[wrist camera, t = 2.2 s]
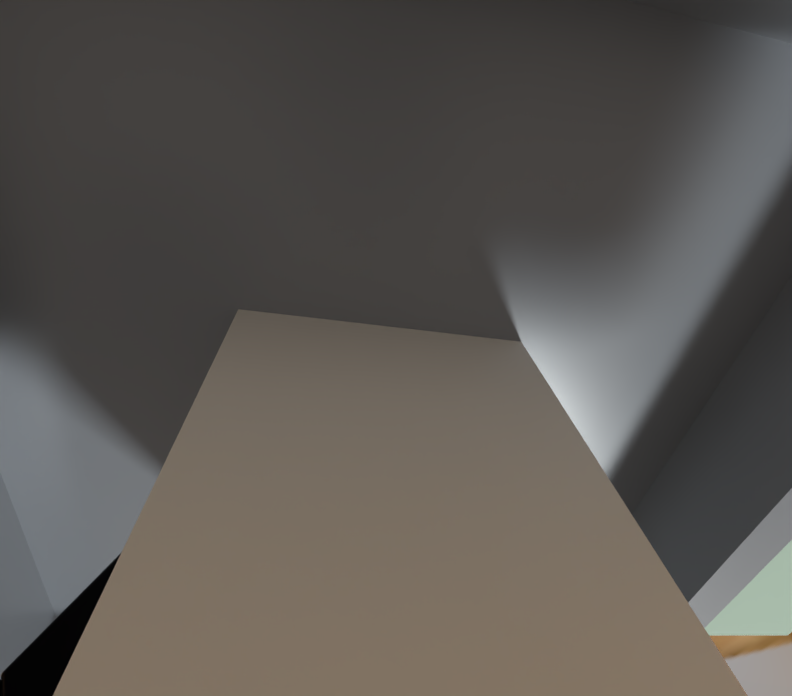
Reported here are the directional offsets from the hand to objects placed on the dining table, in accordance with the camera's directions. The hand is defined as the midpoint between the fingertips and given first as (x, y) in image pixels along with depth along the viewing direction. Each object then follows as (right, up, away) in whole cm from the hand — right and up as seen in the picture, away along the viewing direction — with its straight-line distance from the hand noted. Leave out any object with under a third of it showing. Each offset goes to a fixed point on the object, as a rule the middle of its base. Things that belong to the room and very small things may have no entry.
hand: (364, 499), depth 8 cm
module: (0, +1, +1) cm, 1 cm away
